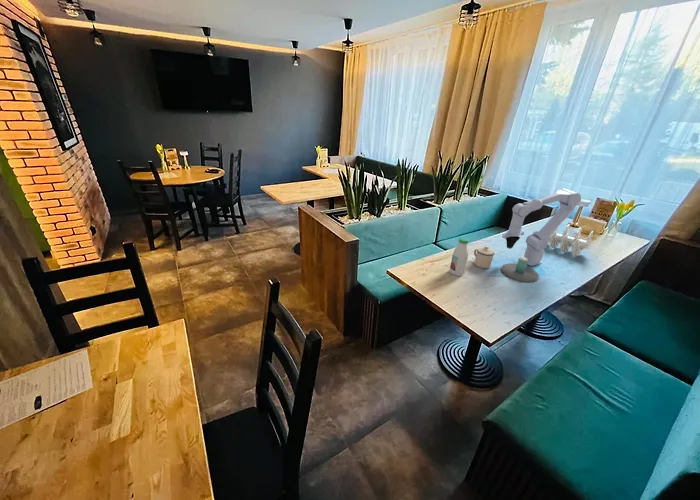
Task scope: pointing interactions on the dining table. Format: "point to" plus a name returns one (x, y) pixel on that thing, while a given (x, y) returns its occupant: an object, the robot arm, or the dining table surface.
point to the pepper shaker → (521, 265)
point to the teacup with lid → (483, 257)
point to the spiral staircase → (569, 241)
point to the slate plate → (525, 277)
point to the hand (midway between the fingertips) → (509, 247)
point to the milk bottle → (459, 258)
